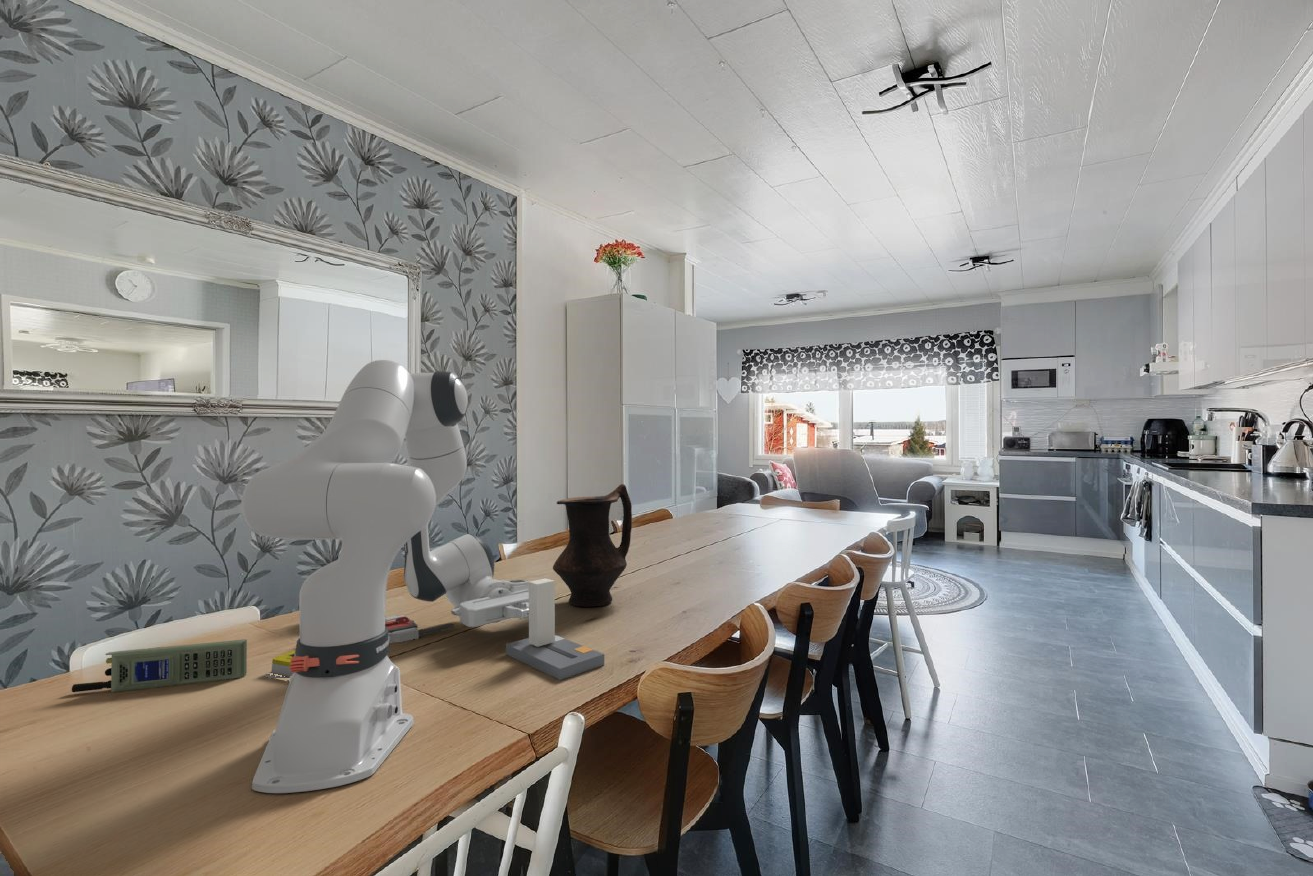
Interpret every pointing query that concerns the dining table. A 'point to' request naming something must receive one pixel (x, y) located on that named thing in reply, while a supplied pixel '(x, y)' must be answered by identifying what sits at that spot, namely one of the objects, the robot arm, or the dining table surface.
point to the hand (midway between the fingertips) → (528, 613)
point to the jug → (593, 548)
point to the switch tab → (541, 612)
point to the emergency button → (281, 666)
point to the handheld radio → (172, 666)
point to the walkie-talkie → (407, 629)
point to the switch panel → (556, 657)
